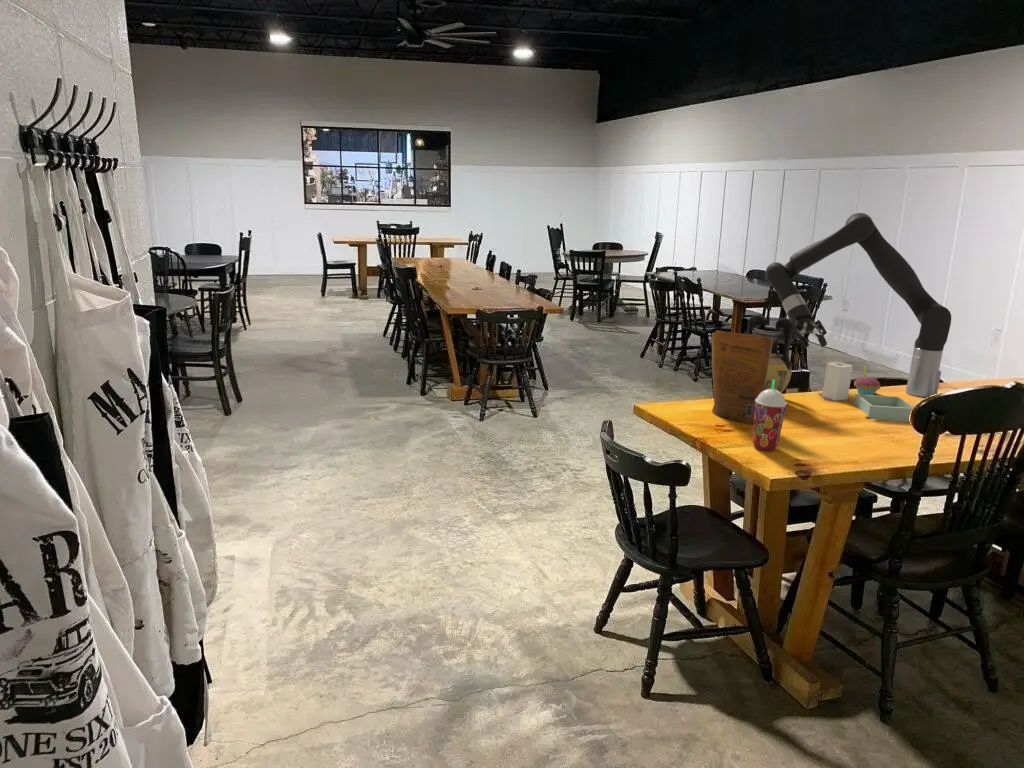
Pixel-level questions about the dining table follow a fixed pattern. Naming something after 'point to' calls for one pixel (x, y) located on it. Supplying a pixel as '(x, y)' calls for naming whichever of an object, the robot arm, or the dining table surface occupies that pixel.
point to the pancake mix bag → (738, 373)
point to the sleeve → (837, 381)
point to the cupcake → (866, 385)
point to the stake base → (834, 400)
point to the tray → (883, 407)
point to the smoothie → (768, 419)
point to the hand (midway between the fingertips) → (815, 346)
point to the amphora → (775, 349)
